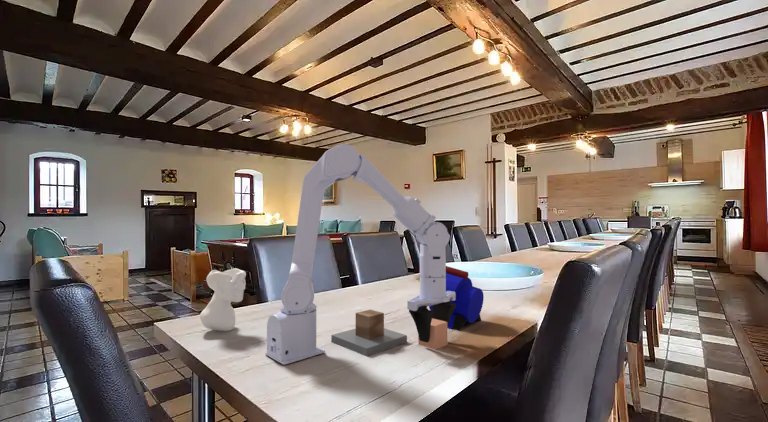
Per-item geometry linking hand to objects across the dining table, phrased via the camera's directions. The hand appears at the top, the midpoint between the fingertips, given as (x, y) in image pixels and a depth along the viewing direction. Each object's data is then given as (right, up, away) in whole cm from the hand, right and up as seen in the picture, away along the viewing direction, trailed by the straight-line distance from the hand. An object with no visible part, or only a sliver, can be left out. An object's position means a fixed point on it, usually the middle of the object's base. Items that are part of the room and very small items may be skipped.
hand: (432, 337), depth 80 cm
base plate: (-14, -2, +2) cm, 14 cm away
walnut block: (-14, 0, +1) cm, 14 cm away
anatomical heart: (-50, -2, +10) cm, 51 cm away
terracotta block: (0, -2, 0) cm, 2 cm away
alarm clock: (+9, -2, +17) cm, 19 cm away
